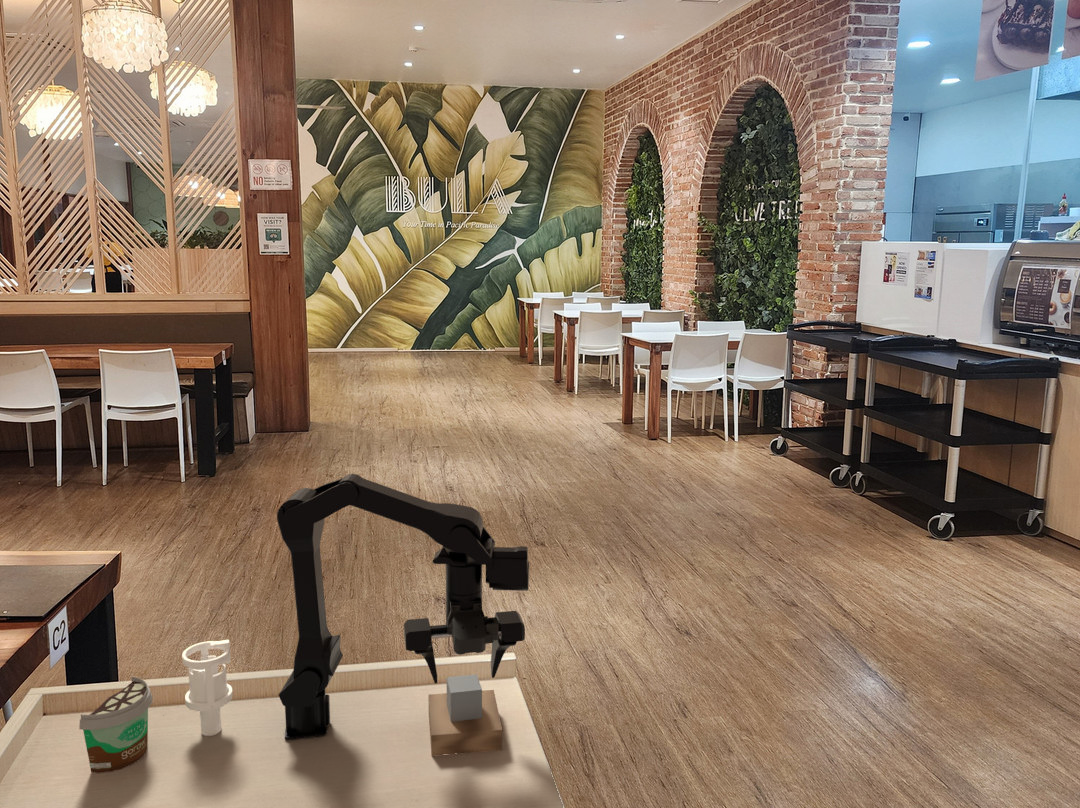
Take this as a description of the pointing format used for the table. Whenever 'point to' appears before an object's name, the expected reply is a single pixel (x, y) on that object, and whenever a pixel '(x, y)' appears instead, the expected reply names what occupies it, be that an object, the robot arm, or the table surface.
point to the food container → (118, 728)
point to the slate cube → (464, 697)
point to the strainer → (208, 684)
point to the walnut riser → (464, 727)
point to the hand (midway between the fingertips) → (464, 679)
